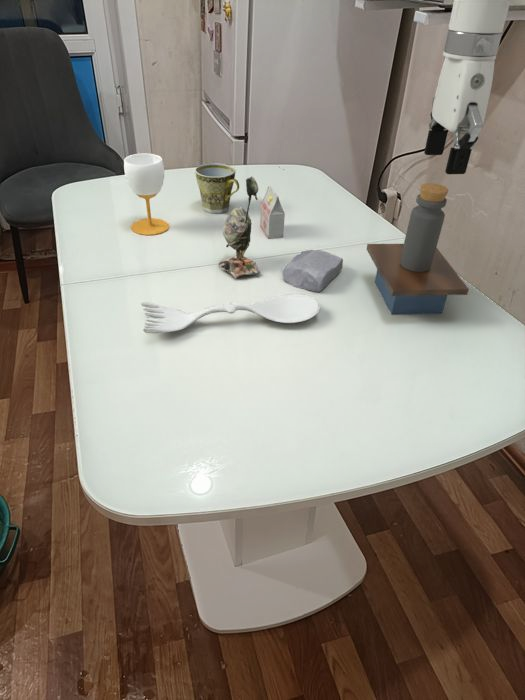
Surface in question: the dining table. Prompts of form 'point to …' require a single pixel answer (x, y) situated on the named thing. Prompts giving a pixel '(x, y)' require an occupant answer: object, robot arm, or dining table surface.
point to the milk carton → (272, 215)
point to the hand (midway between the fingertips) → (443, 163)
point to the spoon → (272, 309)
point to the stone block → (312, 269)
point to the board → (415, 273)
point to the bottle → (424, 228)
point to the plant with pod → (240, 236)
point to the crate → (410, 301)
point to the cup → (146, 188)
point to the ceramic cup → (216, 186)
